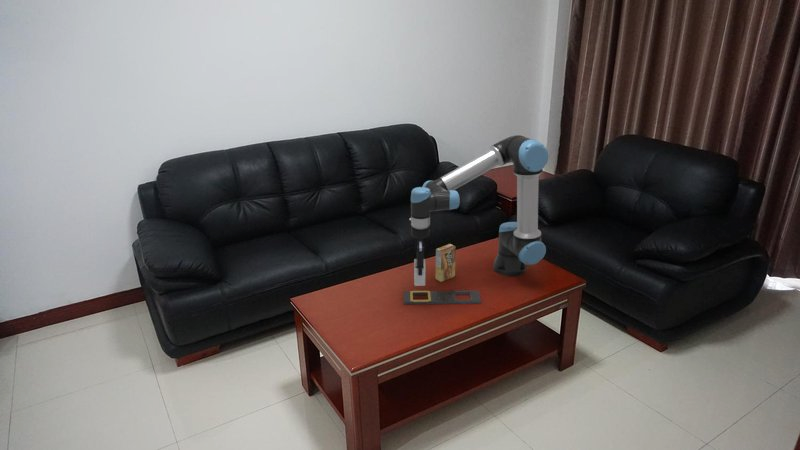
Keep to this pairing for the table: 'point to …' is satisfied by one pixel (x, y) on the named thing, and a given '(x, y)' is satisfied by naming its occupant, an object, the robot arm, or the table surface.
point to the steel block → (416, 274)
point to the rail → (442, 297)
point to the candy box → (445, 262)
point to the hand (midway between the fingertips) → (419, 278)
